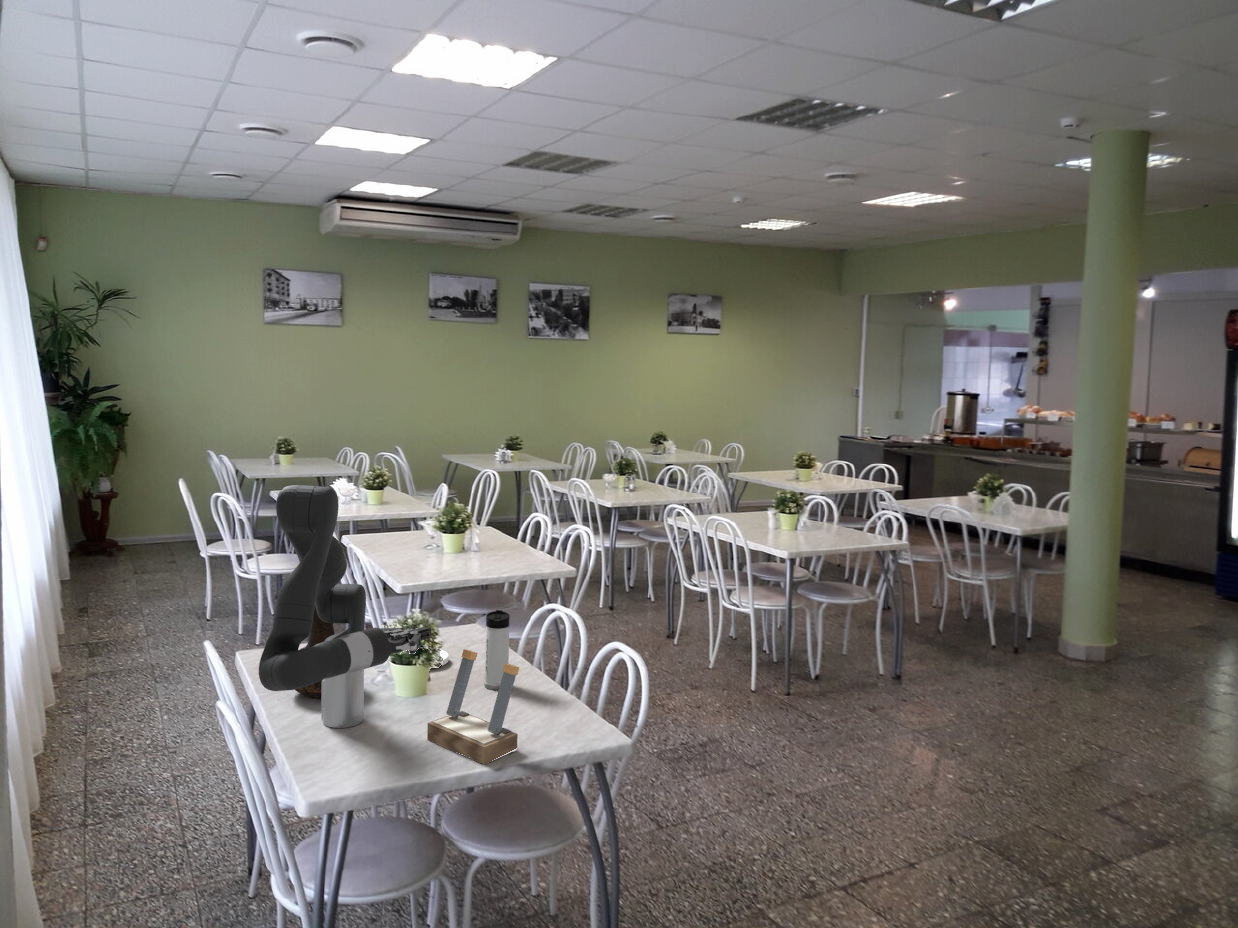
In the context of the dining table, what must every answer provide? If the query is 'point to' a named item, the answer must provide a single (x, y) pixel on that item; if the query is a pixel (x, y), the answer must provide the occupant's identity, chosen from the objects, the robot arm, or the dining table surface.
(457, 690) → the lever
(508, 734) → the switch unit
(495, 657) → the travel mug
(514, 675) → the lever
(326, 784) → the dining table surface
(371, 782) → the dining table surface
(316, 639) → the brown vase
